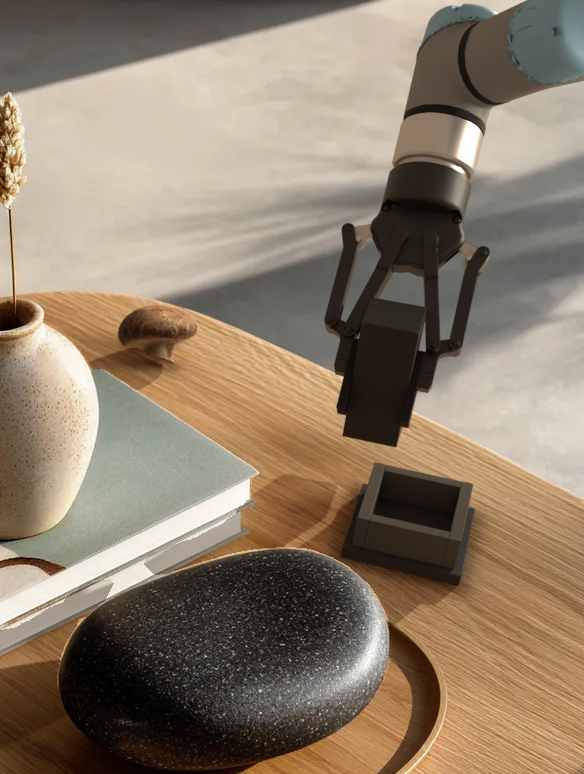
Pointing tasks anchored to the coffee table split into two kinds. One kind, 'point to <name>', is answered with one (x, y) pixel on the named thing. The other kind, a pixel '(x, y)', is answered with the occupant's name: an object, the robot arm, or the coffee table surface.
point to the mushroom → (157, 331)
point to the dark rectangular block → (383, 370)
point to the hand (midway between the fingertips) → (372, 417)
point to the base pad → (411, 523)
